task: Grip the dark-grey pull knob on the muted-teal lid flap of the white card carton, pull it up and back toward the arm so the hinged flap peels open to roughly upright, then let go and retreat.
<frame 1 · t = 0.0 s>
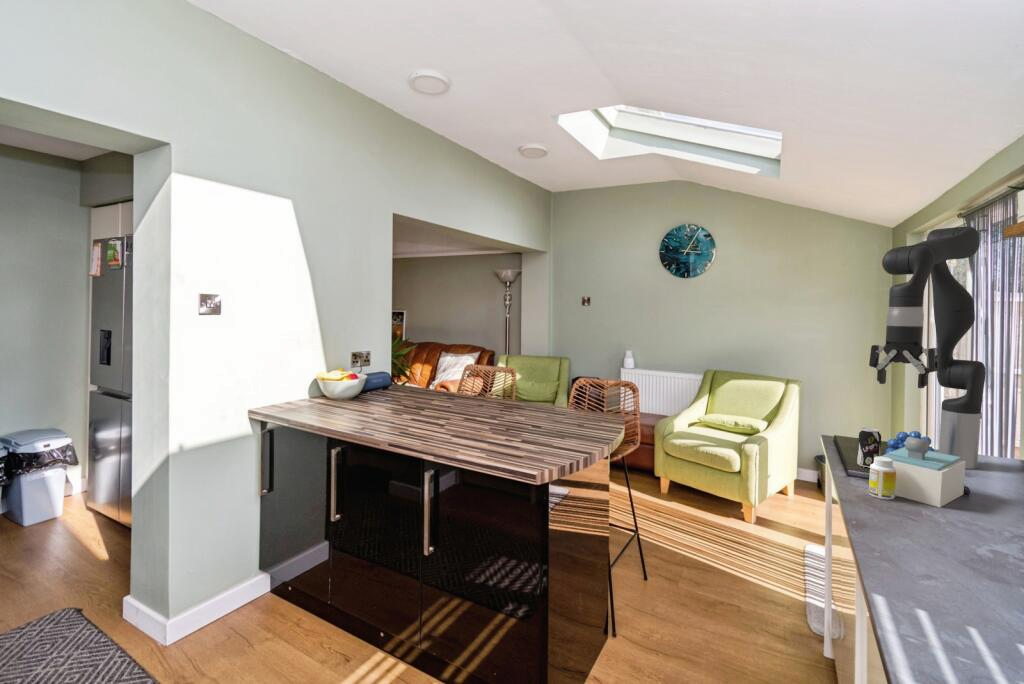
hand: (901, 385, 130), 29 cm above the countertop, fingers open, 8 cm apart
flap: (923, 446, 133), point 12 cm above the countertop, hinge at 0.0°
grapes: (908, 468, 154), on the countertop
supplement bottle: (881, 497, 131), on the countertop
carton: (918, 491, 134), on the countertop
beverage can: (868, 467, 154), on the countertop
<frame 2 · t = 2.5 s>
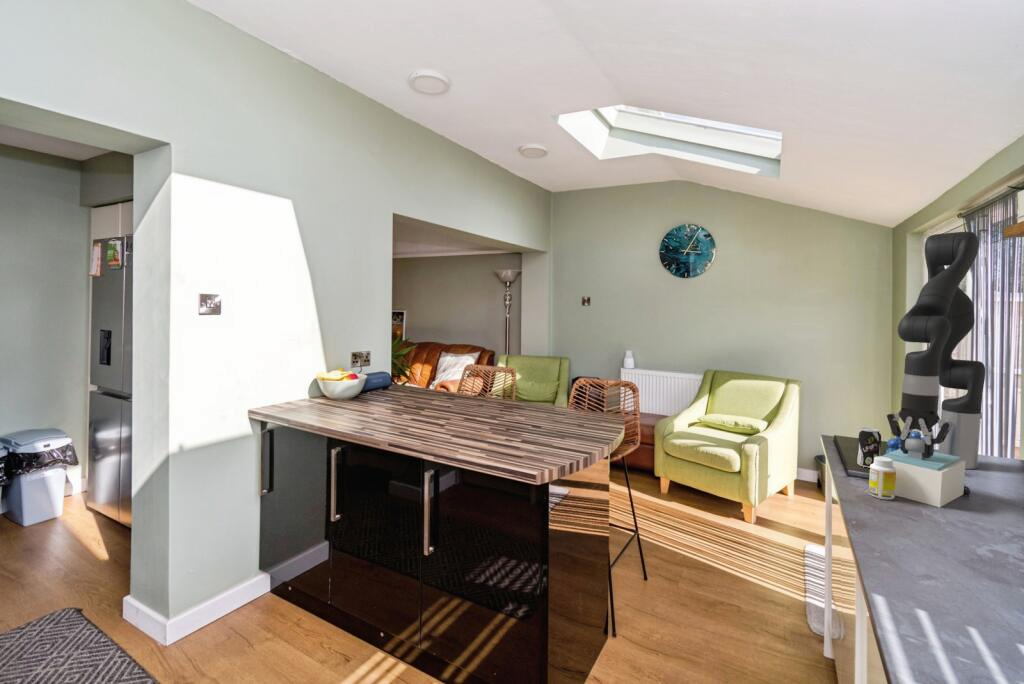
hand: (916, 455, 131), 11 cm above the countertop, fingers closed on flap, 4 cm apart
flap: (923, 446, 133), point 12 cm above the countertop, hinge at 0.0°, touching gripper
everything else where it was.
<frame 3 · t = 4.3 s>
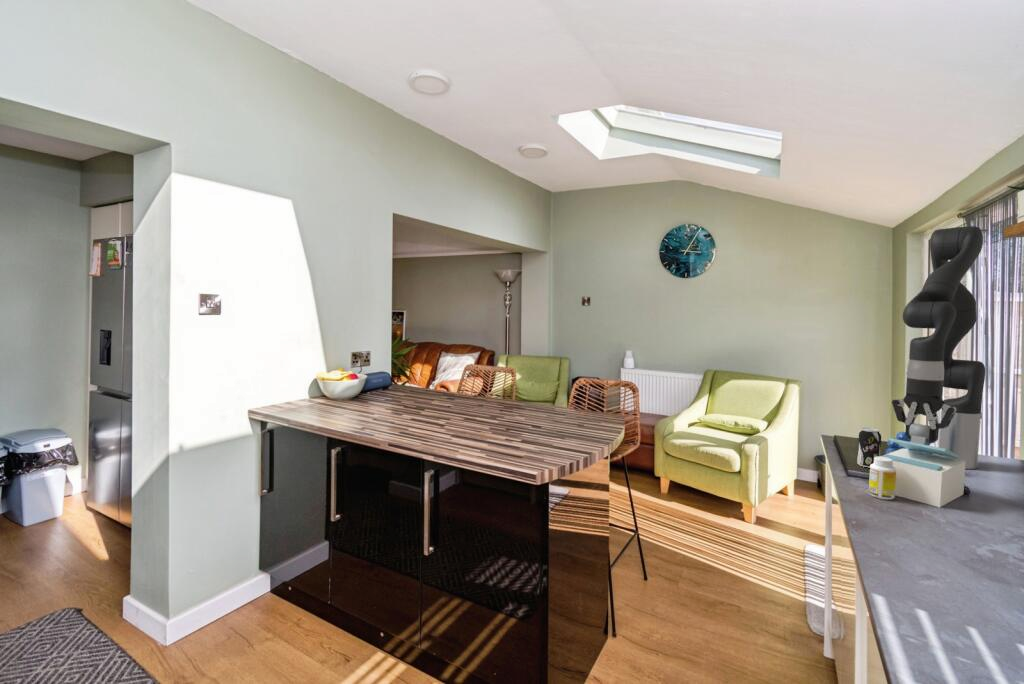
hand: (921, 440, 132), 14 cm above the countertop, fingers closed on flap, 4 cm apart
flap: (926, 438, 134), point 14 cm above the countertop, hinge at 19.5°, touching gripper
everything else where it was.
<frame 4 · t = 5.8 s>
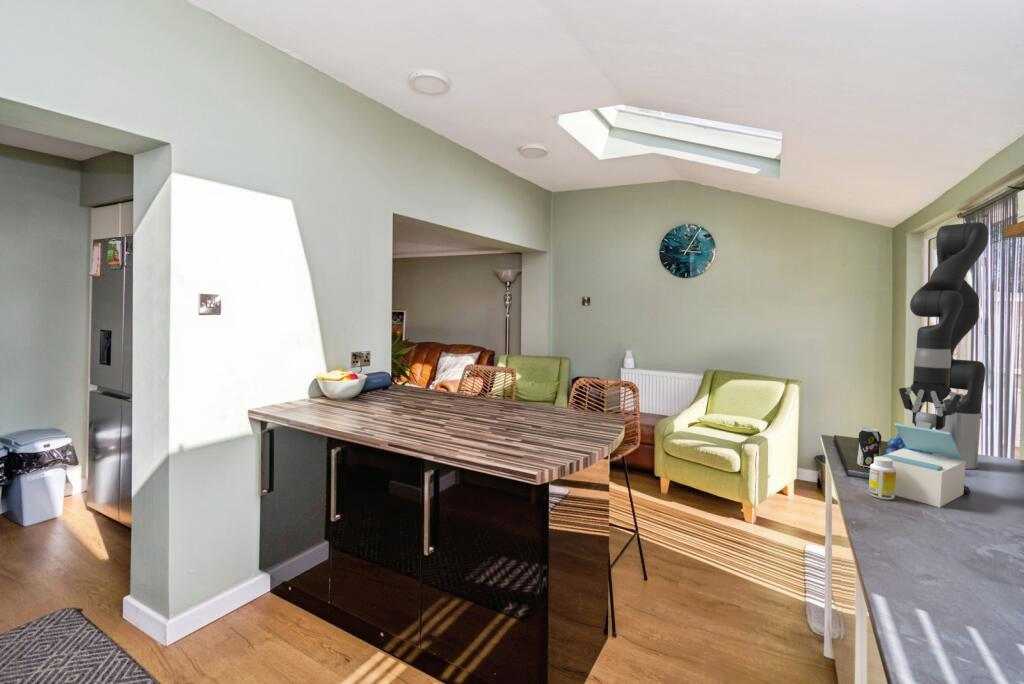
hand: (927, 427, 134), 17 cm above the countertop, fingers closed on flap, 4 cm apart
flap: (930, 432, 135), point 16 cm above the countertop, hinge at 41.2°, touching gripper
everything else where it was.
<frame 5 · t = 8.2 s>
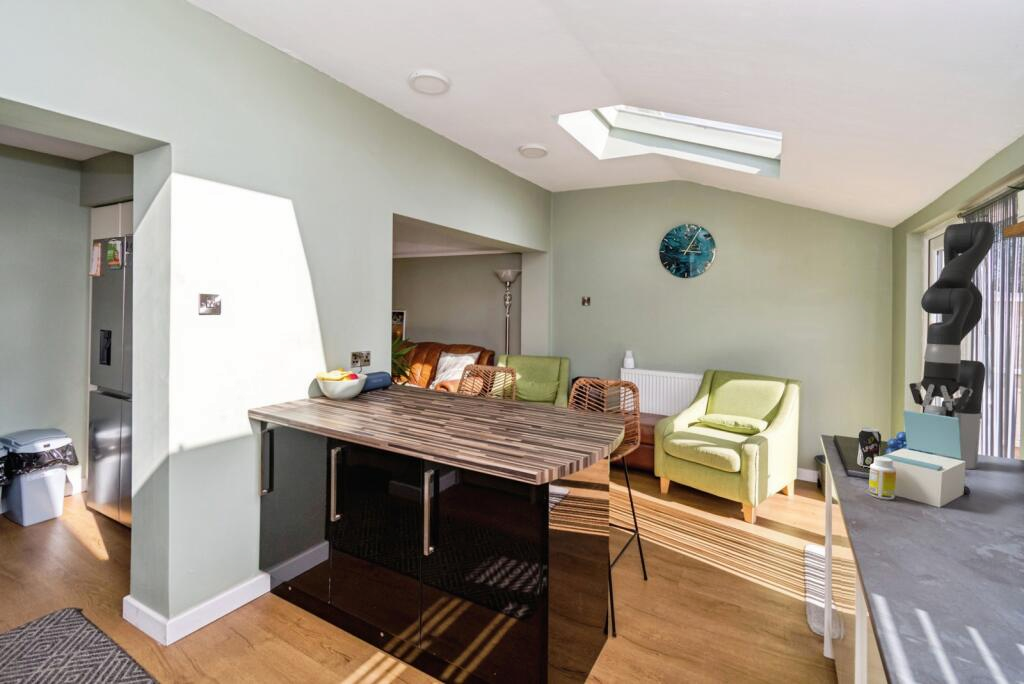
hand: (937, 421, 137), 18 cm above the countertop, fingers closed on flap, 4 cm apart
flap: (935, 428, 137), point 16 cm above the countertop, hinge at 70.1°, touching gripper
everything else where it was.
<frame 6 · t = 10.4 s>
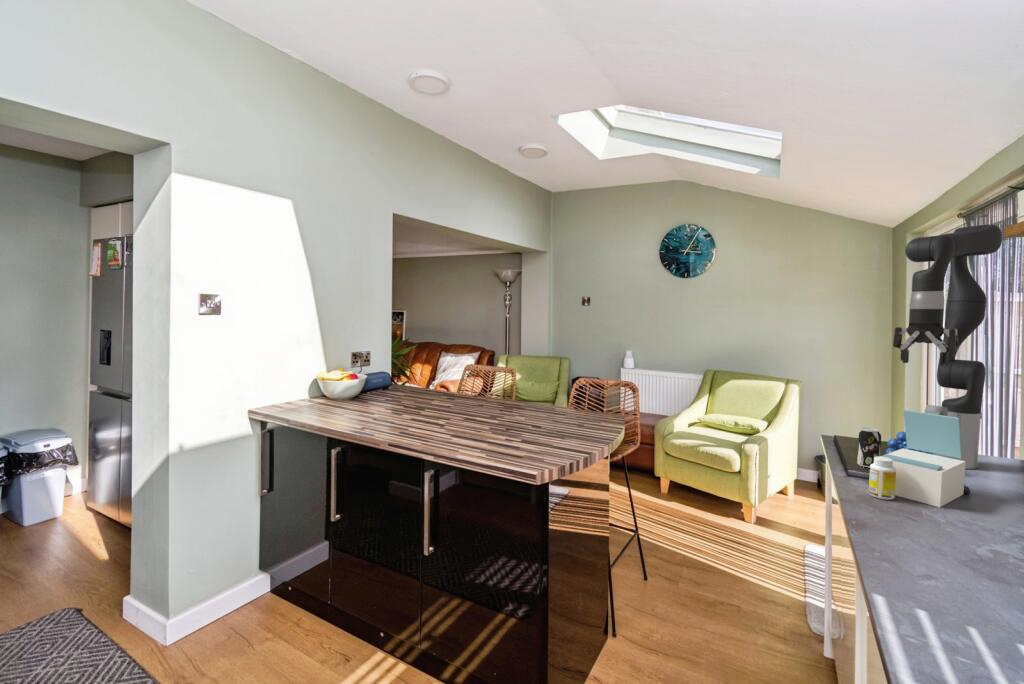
hand: (923, 364, 142), 34 cm above the countertop, fingers open, 8 cm apart
flap: (935, 428, 137), point 16 cm above the countertop, hinge at 71.0°
everything else where it was.
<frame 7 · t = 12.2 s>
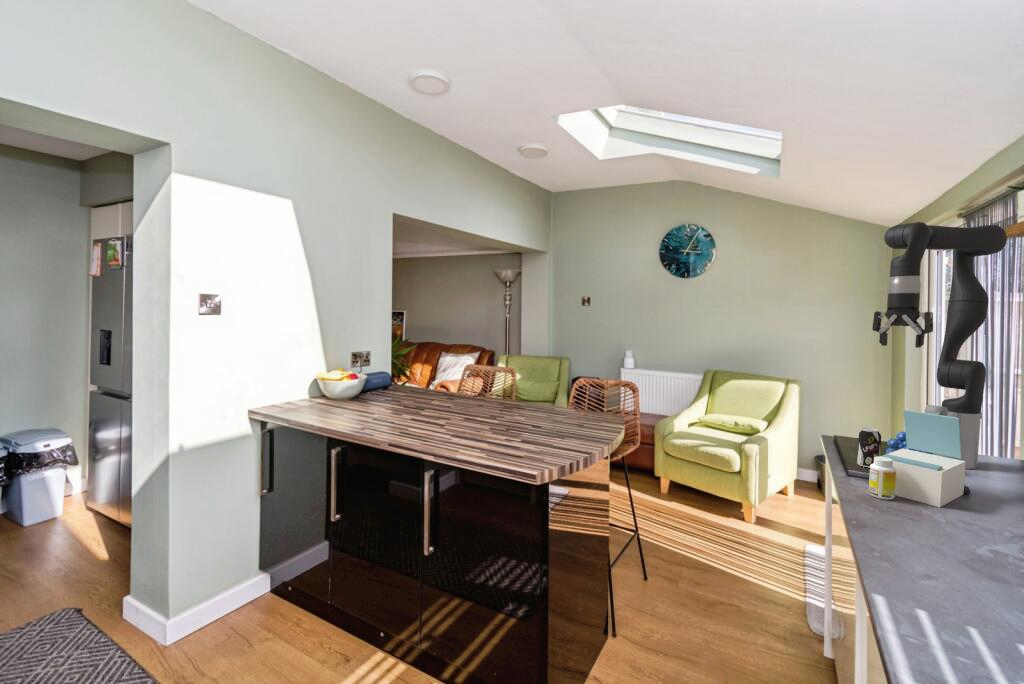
hand: (900, 346, 147), 38 cm above the countertop, fingers open, 8 cm apart
nothing on the countertop moved.
at the end: flap at +71° (first picture: +0°); the gripper is holding nothing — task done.
